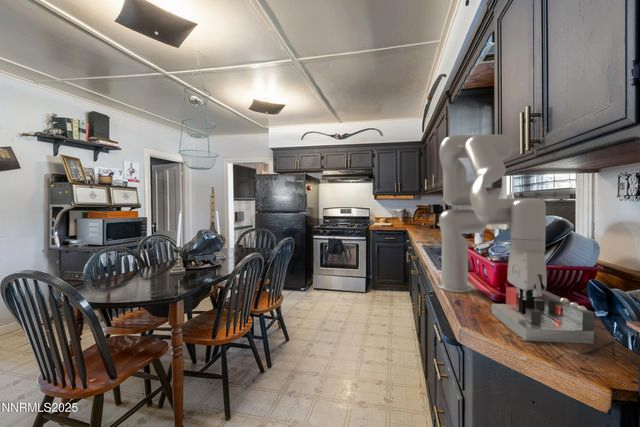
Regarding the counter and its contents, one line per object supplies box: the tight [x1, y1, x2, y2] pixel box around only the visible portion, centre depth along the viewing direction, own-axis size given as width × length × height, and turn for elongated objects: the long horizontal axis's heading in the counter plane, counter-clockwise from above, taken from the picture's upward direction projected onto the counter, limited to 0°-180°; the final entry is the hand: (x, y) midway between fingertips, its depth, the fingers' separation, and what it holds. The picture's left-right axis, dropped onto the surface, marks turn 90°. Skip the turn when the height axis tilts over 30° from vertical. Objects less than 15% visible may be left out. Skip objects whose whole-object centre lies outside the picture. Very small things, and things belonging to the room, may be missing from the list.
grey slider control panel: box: [491, 289, 595, 344], centre depth 79 cm, size 18×15×8 cm
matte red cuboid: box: [505, 286, 520, 304], centre depth 93 cm, size 6×6×6 cm
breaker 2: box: [535, 298, 545, 312], centre depth 83 cm, size 2×2×3 cm
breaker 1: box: [526, 308, 541, 324], centre depth 75 cm, size 2×2×3 cm
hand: (526, 313), depth 78 cm, fingers closed
